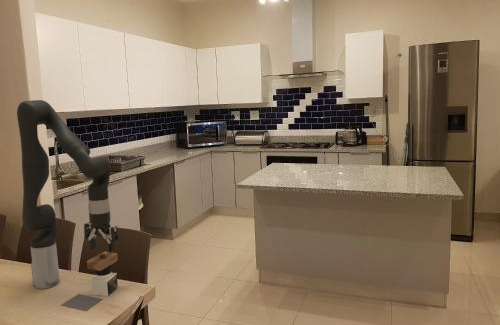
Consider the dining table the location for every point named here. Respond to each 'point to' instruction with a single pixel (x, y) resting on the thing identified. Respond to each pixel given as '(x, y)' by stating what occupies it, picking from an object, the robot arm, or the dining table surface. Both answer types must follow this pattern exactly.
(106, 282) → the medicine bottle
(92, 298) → the mat
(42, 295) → the dining table surface
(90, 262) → the lid
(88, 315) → the dining table surface
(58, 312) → the dining table surface
